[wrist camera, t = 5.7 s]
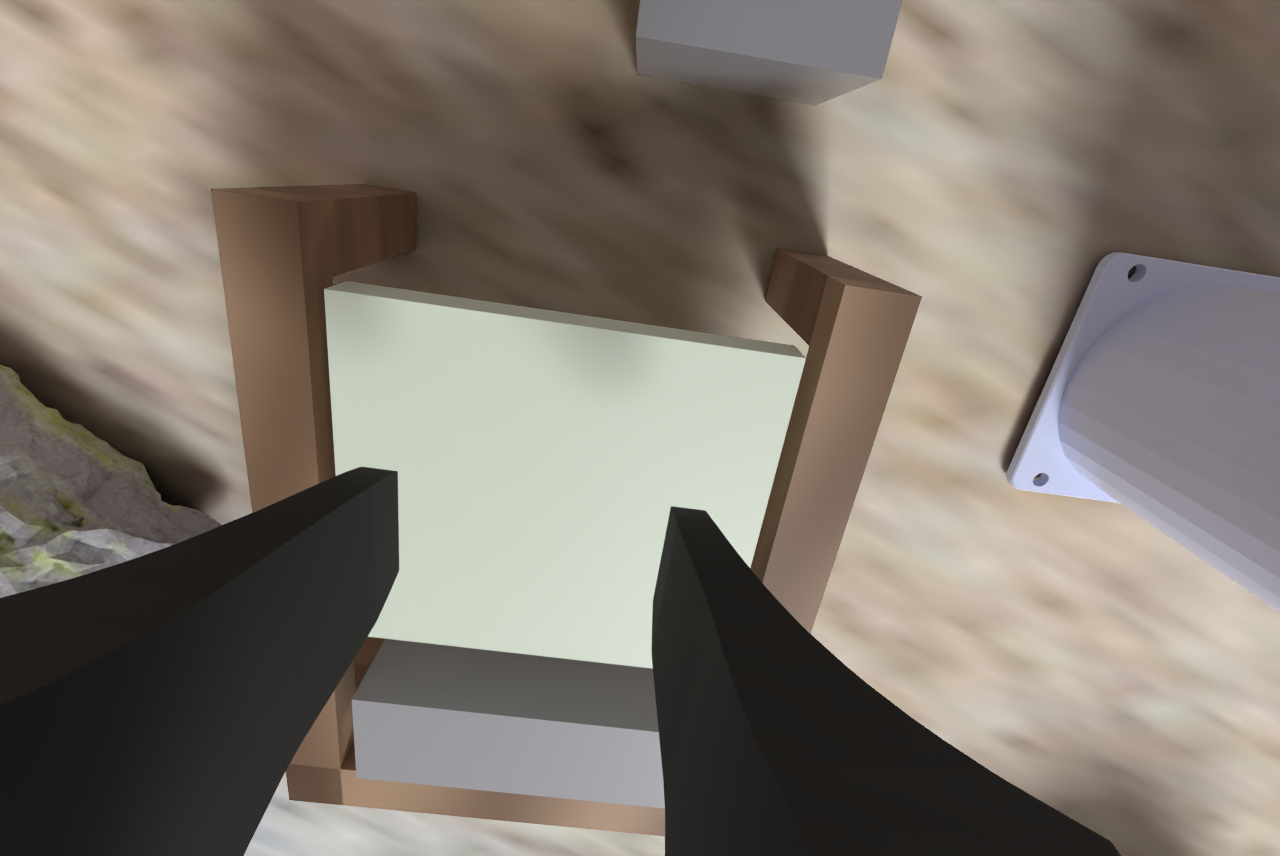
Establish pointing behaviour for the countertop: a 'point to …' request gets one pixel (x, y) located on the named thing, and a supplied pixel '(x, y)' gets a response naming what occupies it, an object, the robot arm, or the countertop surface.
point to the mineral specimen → (73, 498)
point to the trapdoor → (537, 525)
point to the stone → (767, 45)
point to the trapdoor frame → (304, 448)
